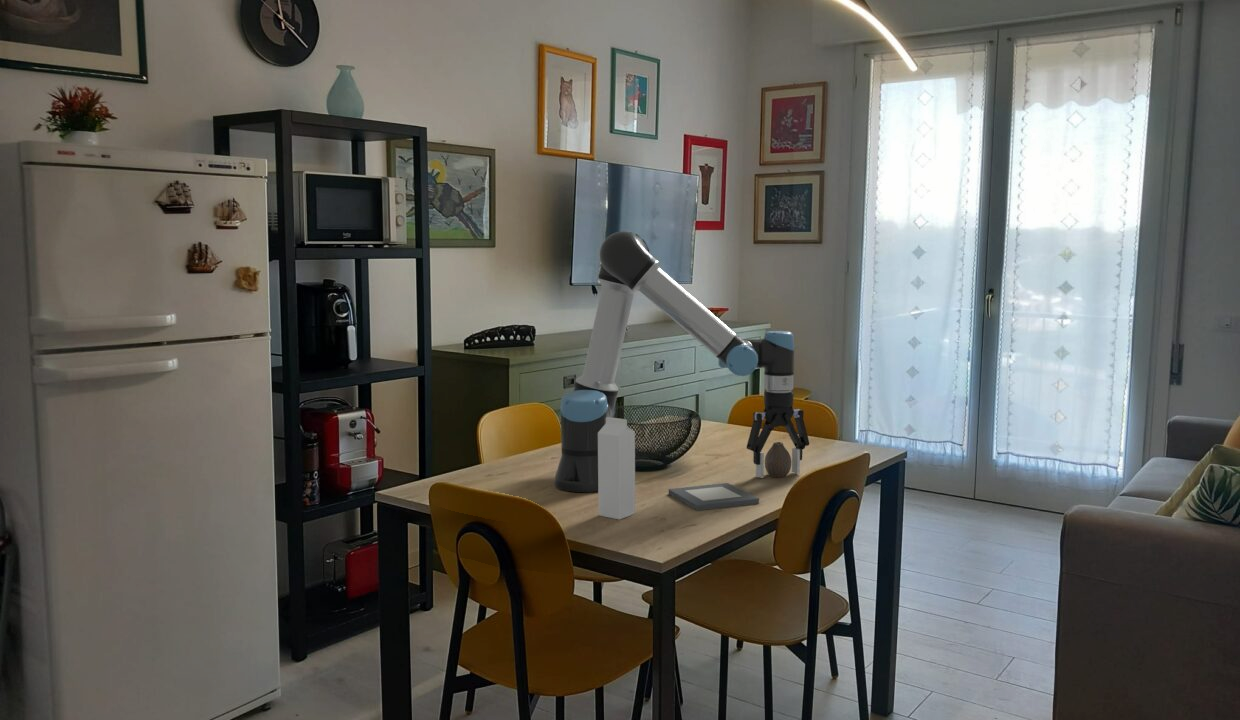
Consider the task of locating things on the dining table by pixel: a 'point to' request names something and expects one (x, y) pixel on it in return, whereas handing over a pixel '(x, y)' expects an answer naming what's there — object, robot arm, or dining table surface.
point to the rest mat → (713, 496)
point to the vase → (777, 460)
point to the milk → (616, 469)
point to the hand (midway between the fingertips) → (777, 474)
